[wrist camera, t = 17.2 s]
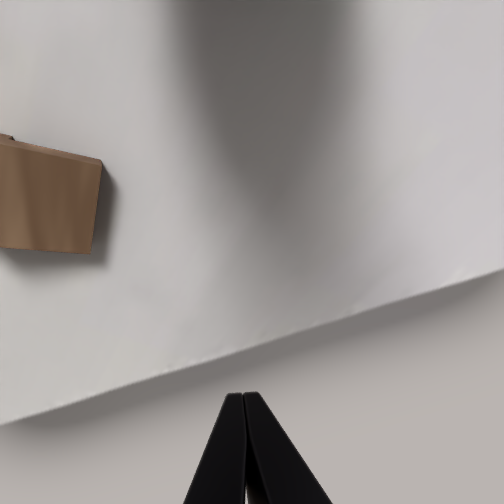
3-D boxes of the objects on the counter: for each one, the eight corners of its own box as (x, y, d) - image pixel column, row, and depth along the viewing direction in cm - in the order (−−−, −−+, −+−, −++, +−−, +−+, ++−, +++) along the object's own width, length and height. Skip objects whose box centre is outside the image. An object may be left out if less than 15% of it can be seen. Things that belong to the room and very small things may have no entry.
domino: (102, 165, 15) (-63, 130, 12) (90, 254, 17) (-58, 242, 14) (100, 160, 16) (-50, 126, 13) (89, 242, 18) (-46, 229, 15)
